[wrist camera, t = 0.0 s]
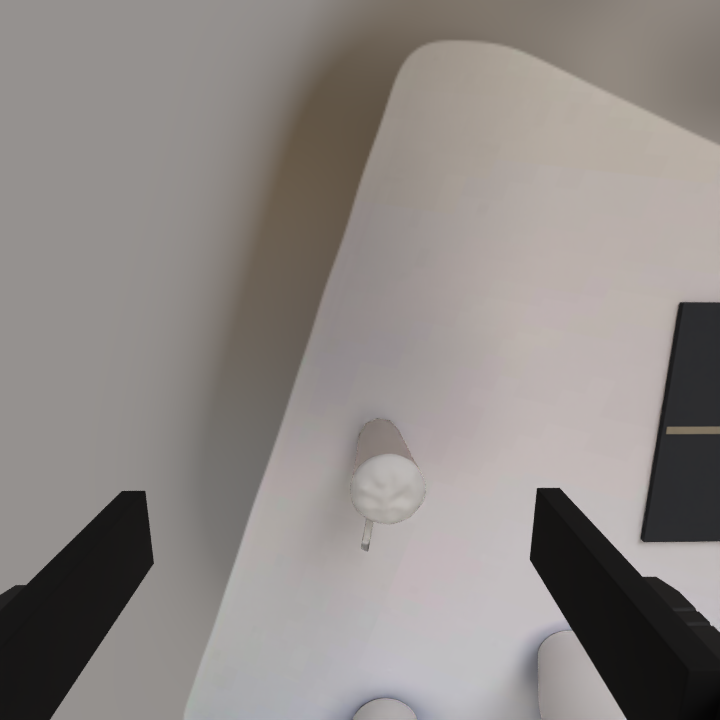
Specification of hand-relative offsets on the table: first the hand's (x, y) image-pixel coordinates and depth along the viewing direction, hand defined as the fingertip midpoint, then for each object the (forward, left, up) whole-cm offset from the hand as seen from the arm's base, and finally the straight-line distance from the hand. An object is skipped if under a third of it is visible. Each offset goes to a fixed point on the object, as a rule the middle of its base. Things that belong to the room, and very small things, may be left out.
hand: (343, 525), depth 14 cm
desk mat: (+4, +31, -19) cm, 37 cm away
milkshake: (+5, +2, -19) cm, 20 cm away
